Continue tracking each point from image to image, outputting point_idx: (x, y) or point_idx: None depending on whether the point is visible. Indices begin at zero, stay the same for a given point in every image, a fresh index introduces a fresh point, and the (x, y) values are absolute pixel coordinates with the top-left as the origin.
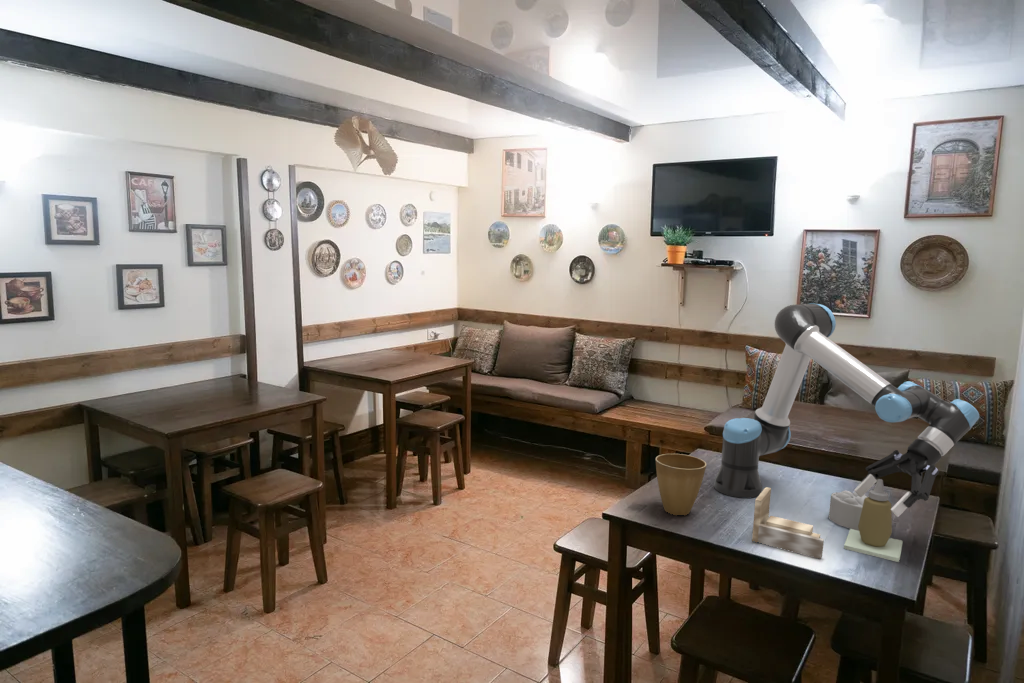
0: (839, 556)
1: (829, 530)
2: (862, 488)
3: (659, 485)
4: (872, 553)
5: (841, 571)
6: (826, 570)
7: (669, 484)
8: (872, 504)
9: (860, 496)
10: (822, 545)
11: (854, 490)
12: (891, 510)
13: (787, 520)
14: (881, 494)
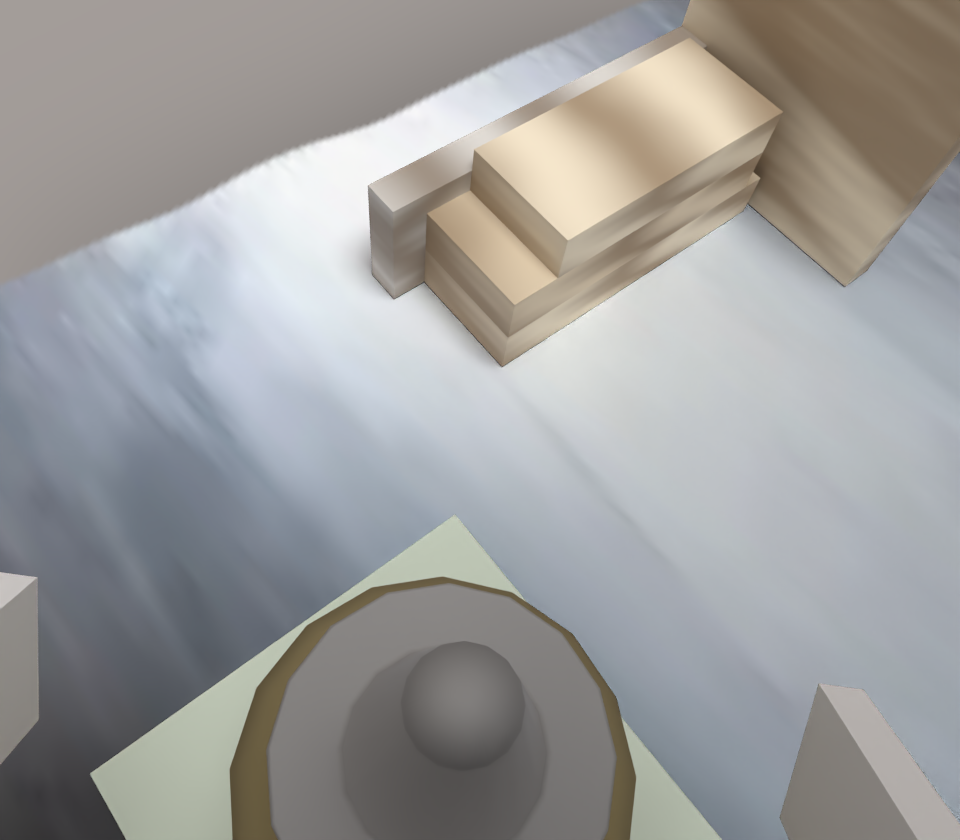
0: (364, 404)
1: (775, 685)
2: (849, 814)
3: None
4: (281, 641)
5: (202, 268)
6: (249, 207)
7: None
8: (374, 587)
9: (785, 801)
10: (369, 209)
11: (852, 689)
12: (33, 599)
13: (686, 149)
14: (327, 690)
